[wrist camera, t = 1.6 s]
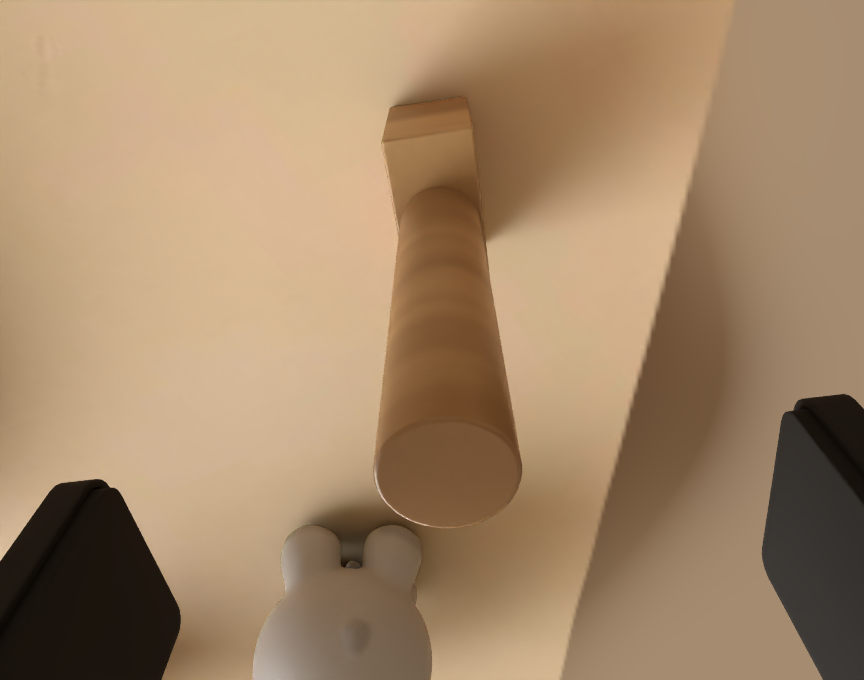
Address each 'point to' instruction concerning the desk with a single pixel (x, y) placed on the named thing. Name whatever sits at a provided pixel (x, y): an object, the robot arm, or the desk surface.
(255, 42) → the desk surface
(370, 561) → the chubby cartoon animal
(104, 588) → the robot arm
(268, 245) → the desk surface
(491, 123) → the desk surface
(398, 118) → the wooden stamp
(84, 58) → the desk surface
